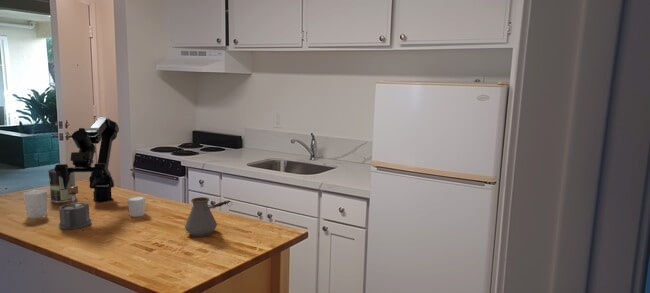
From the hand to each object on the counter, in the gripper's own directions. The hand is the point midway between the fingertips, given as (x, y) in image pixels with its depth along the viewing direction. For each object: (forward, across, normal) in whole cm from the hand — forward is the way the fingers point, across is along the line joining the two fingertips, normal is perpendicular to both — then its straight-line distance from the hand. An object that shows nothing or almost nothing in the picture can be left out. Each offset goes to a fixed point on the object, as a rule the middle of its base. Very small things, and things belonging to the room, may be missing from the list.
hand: (77, 188), depth 173 cm
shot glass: (+6, +20, +14) cm, 25 cm away
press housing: (+13, 0, +6) cm, 14 cm away
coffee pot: (+26, +52, -7) cm, 59 cm away
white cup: (+3, -19, +16) cm, 25 cm away
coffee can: (-14, -18, +33) cm, 40 cm away
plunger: (+8, 0, +1) cm, 8 cm away
